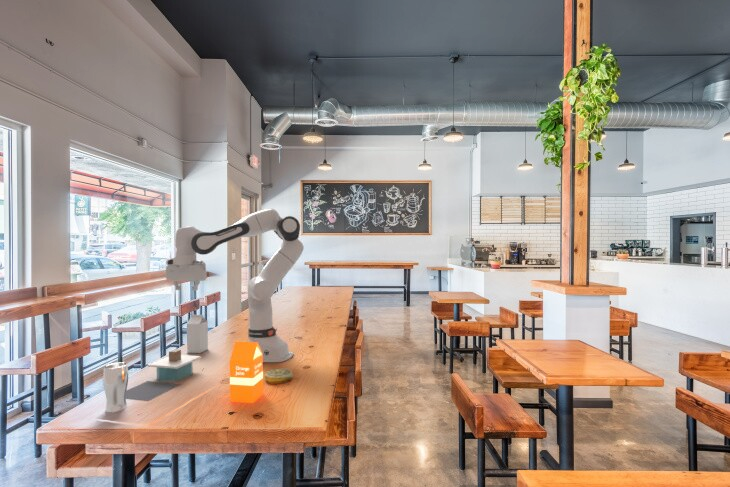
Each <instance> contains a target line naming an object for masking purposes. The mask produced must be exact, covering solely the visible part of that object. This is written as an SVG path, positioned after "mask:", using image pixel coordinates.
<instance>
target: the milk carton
mask: <svg viewBox="0 0 730 487" xmlns="http://www.w3.org/2000/svg"><path fill="white" fill-rule="evenodd" d="M208 322H209V321H208V320H206V317H204V314H191V315H190V318H189V319H188V322H187V323H186V339H187V340H186V342H187V343H186V351H187V353H188V354H201V353H202V352H205V351H207V350H209V336H208V335H209V333H208V328H209V327H208V326H209V325H208Z"/></svg>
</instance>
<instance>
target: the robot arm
mask: <svg viewBox="0 0 730 487" xmlns="http://www.w3.org/2000/svg"><path fill="white" fill-rule="evenodd" d="M270 231H273V232H274V233H275V234H276V235H277V236H278V238H280V240H282V243H281V245H280V246H279V248H278V249H276V251H275V252H274V253H273V255H272V256H271V257H270V259H269V260H268V261H267V262H266V264H265V265H264V266H263V268H262V270H261V271H260V273H259V274H258V275H256V276H254V277H252V278H251V279H250V280H249V282H248V283H247V303H248V318H249V319H248V323H249V325H248V326H249V328H248V332H247V334H248V335H247V336H248V342H257V343H258V345H259V347H260V350H261V352H262V355H263V363H283V362H286V361H288V360H290V359H291V358H292V357H294V352H293V351H289V346H288V343H287V341H285V340H284V339H282V338H281V337H280V336H279V335H278V334H277V331H278V328H275V327H274V325H273V321H274V320H273V307H272V299H271V298H272V296H273V295H274V293H275V292H276V290H277V289H278V288H279V286H280V285H281V283H282V281H283V280H284V279H285V277H286V276H287V274H288V273H289V271H291V269H292V268H293V267H294V266H295V264H296V263H297V262H298V260H299V258H300V257H301V256H302V254H303V251H304V249H305V248H304V244H303V243H302V241H301V240H299V237H300V231H301V224H300V222H299V219H298V218H296V217H294V216H291V215H287V216H283V217H281V216H280V214H279V212H278V211H277V210H276V209H274V208H266V209H262V210H258V211H255V212H252V213H250V214H247V215H246V216H244V217H242V218H241V219H240V220H238V221H237V222H235V223H234V224H231V225H229V226H226V227H224V228H221V229H219V230H215V231H211V232H207V231H202V230H200V229H198V228H196V227H195V226H191V225H190V226H189V225H188V226H183V227H180V228H177V230H176V233H175V244H174V245H175V251H176V252H175V257H173V258H170V259H167V260H166V261H165V264H166V267H165V279H166V280H167V281H172V284H173V285H174V289H175V291H180V290H181V285H180V284H179V283H180V281H187V282H188V281H190V282H191V281H193V282H194V286H192V291H198V289H199V284H201V281H206V280H207V277H208V275H207V274H208V273H207V268H206V267H207V266H206V265H207V264H206V263H205V262H204V261H203V260H197V254H199V255H202V256H203V255H208V254H210V253H212V252H214V251H215V250H216V249H217V248H218V246H220V245H222V244H225V243H227V242H230V241H232V240H236V239H238V238H239V239H240V238H252V237H255V236H258V235H259V236H260V235H262V234H264V233H267V232H270Z"/></svg>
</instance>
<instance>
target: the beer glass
mask: <svg viewBox="0 0 730 487" xmlns="http://www.w3.org/2000/svg"><path fill="white" fill-rule="evenodd" d="M102 375H103V376H102V381H103V382H102V383H103V384H102V385H103V389H104V394H105V399H106V405H105V406H106V407H105V413H118V412H120V411H123V410H125V409H126V408H127V407H128V404H127V399H126V390H128V385H129V384H128V383H129V368H128V362H125V361H123V362H121V361H120V362H114V363H109V364H106V365H104V366H103V374H102Z"/></svg>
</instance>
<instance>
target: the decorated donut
mask: <svg viewBox="0 0 730 487" xmlns="http://www.w3.org/2000/svg"><path fill="white" fill-rule="evenodd" d="M291 378H293V372H292V370H290V369H289V368H281V367H280V368H274V369H271V370H269V371H266V373H265V374H264V379H265V381H266V382H267V383H268V384H271V385H278V384H284V383H287V382H289V380H291Z"/></svg>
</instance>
